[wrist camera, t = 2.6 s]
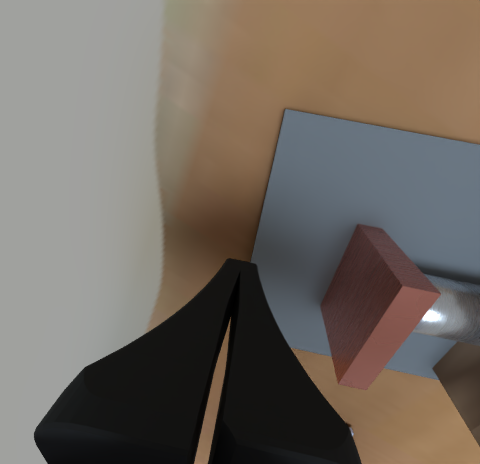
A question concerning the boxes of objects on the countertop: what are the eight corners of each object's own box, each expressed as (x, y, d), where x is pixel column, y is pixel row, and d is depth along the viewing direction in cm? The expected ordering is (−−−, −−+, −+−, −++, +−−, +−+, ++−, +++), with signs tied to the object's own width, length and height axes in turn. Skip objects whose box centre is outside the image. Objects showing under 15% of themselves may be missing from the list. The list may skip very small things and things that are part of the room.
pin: (320, 306, 14) (338, 383, 10) (357, 223, 11) (402, 285, 7) (441, 331, 14) (509, 422, 10) (509, 253, 11) (640, 335, 7)
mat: (521, 390, 16) (530, 400, 15) (235, 327, 17) (234, 334, 16) (784, 200, 9) (814, 206, 9) (285, 109, 10) (285, 109, 9)
